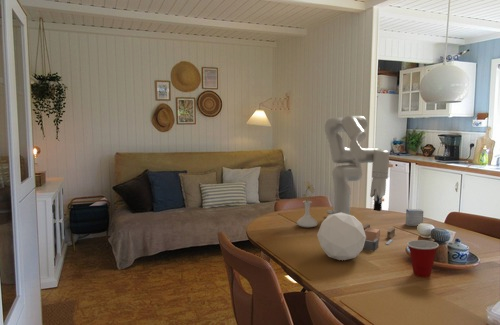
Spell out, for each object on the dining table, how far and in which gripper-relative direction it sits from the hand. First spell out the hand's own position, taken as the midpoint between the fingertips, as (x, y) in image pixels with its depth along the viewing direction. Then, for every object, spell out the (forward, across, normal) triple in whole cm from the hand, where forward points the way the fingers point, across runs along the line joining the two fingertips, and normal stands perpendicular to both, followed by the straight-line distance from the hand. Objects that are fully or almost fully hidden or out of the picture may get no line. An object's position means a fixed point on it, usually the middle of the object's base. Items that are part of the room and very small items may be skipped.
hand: (377, 210), depth 189 cm
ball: (+11, +43, -1) cm, 45 cm away
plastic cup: (+10, +42, +30) cm, 52 cm away
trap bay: (+11, +24, +2) cm, 27 cm away
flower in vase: (+14, +7, -35) cm, 39 cm away
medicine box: (+13, -28, +13) cm, 33 cm away
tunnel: (+12, +1, +2) cm, 12 cm away
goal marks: (+12, +11, +2) cm, 16 cm away
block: (+12, +12, +2) cm, 17 cm away
